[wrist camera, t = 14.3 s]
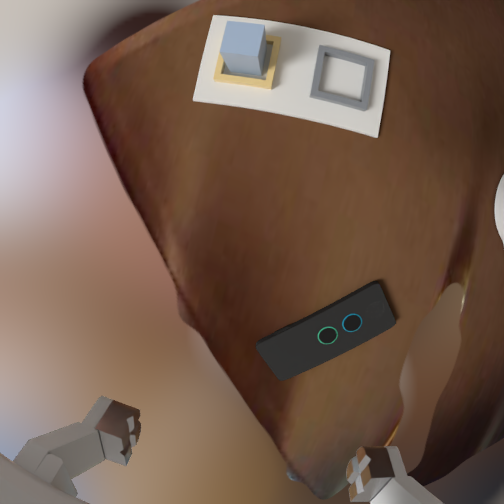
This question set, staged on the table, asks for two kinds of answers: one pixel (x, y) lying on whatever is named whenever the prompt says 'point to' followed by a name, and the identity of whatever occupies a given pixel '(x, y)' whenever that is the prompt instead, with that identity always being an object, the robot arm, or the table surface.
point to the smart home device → (327, 332)
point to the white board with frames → (301, 76)
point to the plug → (244, 47)
